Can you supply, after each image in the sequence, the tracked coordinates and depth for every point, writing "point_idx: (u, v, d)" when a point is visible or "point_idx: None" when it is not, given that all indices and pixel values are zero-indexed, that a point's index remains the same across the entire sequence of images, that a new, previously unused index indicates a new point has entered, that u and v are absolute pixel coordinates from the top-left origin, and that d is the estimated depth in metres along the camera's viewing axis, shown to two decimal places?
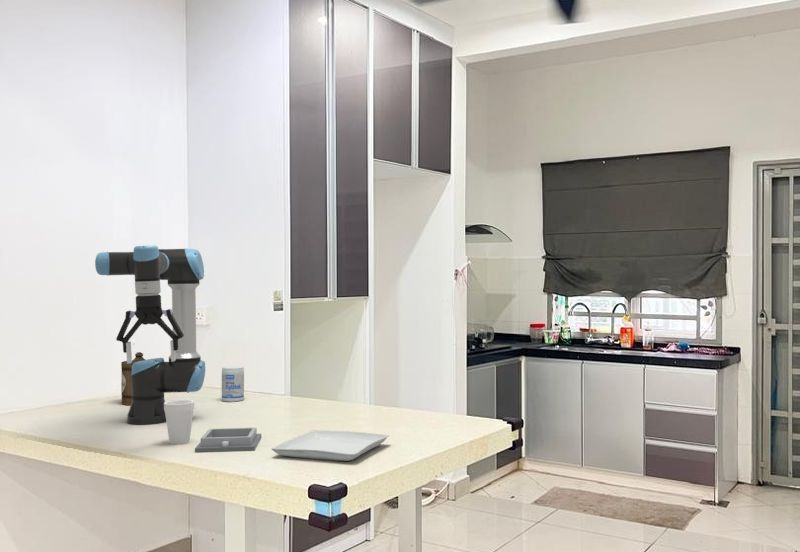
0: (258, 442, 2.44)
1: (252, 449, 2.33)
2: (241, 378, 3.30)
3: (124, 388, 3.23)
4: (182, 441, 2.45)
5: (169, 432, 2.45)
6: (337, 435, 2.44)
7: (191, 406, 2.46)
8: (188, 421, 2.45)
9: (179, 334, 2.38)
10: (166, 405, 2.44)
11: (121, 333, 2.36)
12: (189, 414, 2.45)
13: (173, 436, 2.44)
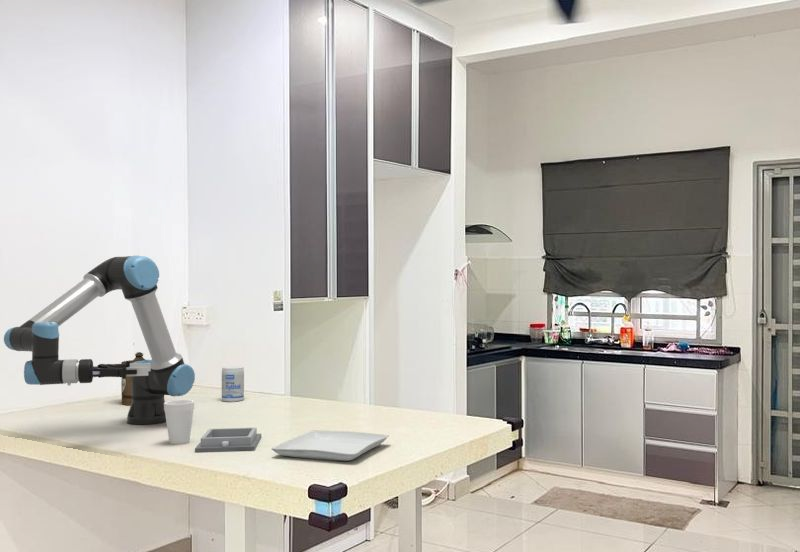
0: (258, 442, 2.44)
1: (252, 449, 2.33)
2: (241, 378, 3.30)
3: (124, 388, 3.23)
4: (182, 441, 2.45)
5: (169, 432, 2.45)
6: (337, 435, 2.44)
7: (191, 406, 2.46)
8: (188, 421, 2.45)
9: (119, 376, 2.34)
10: (166, 405, 2.44)
11: None
12: (189, 414, 2.45)
13: (173, 436, 2.44)
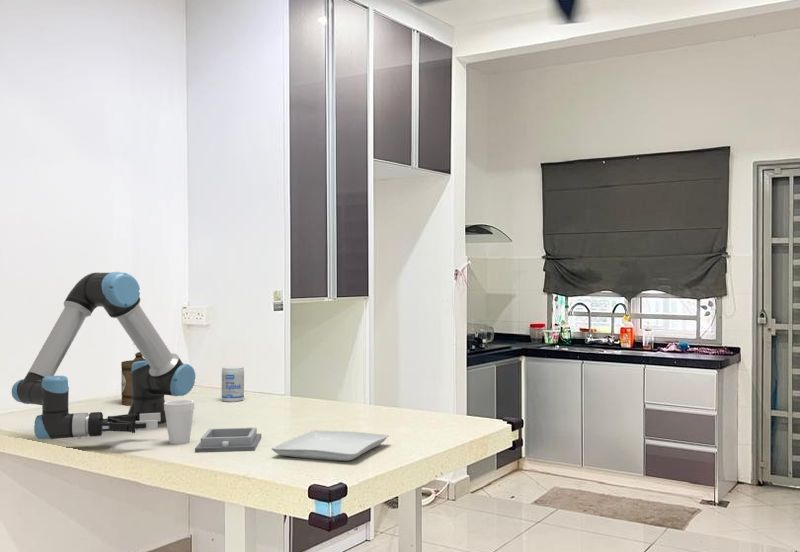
0: (258, 442, 2.44)
1: (252, 449, 2.33)
2: (241, 378, 3.30)
3: (124, 388, 3.24)
4: (182, 441, 2.45)
5: (169, 432, 2.45)
6: (337, 435, 2.44)
7: (191, 406, 2.46)
8: (188, 421, 2.45)
9: None
10: (166, 405, 2.44)
11: None
12: (189, 414, 2.45)
13: (173, 436, 2.44)
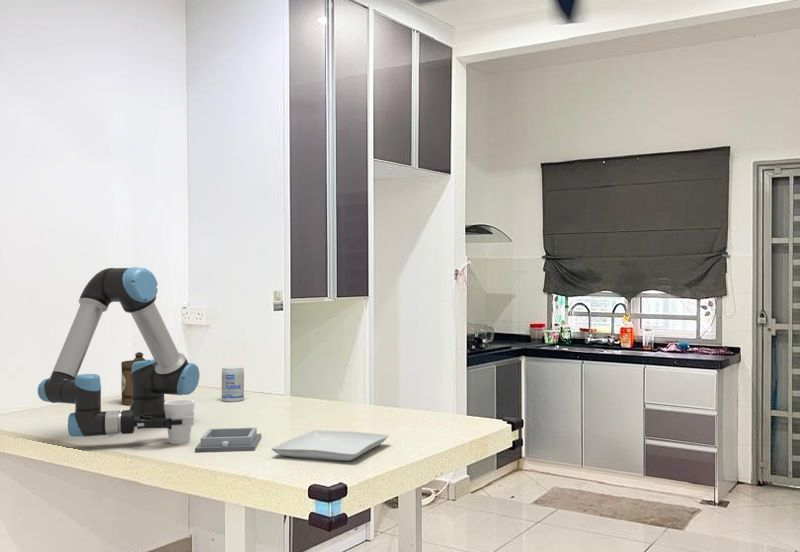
0: (258, 442, 2.44)
1: (252, 449, 2.33)
2: (241, 378, 3.30)
3: (124, 388, 3.24)
4: (182, 441, 2.45)
5: (169, 432, 2.45)
6: (337, 435, 2.44)
7: (191, 406, 2.46)
8: None
9: None
10: (166, 405, 2.44)
11: None
12: (189, 414, 2.45)
13: (173, 436, 2.44)
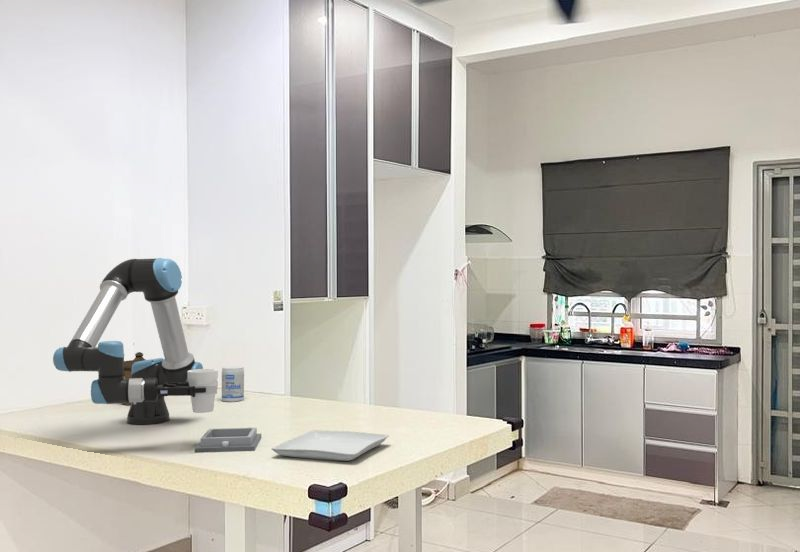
0: (258, 442, 2.44)
1: (252, 449, 2.33)
2: (241, 378, 3.30)
3: None
4: (206, 410, 2.40)
5: (192, 401, 2.40)
6: (336, 435, 2.44)
7: (215, 374, 2.41)
8: None
9: None
10: (189, 373, 2.39)
11: None
12: (212, 382, 2.41)
13: (196, 404, 2.40)
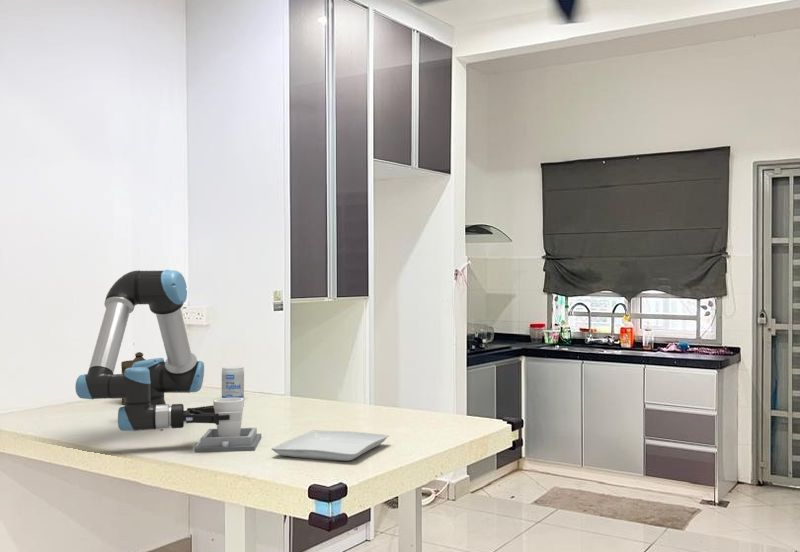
0: (258, 442, 2.44)
1: (252, 449, 2.33)
2: (241, 378, 3.30)
3: None
4: None
5: (219, 430, 2.40)
6: (336, 435, 2.44)
7: (241, 404, 2.41)
8: None
9: None
10: (216, 403, 2.39)
11: None
12: (239, 411, 2.41)
13: (223, 434, 2.39)
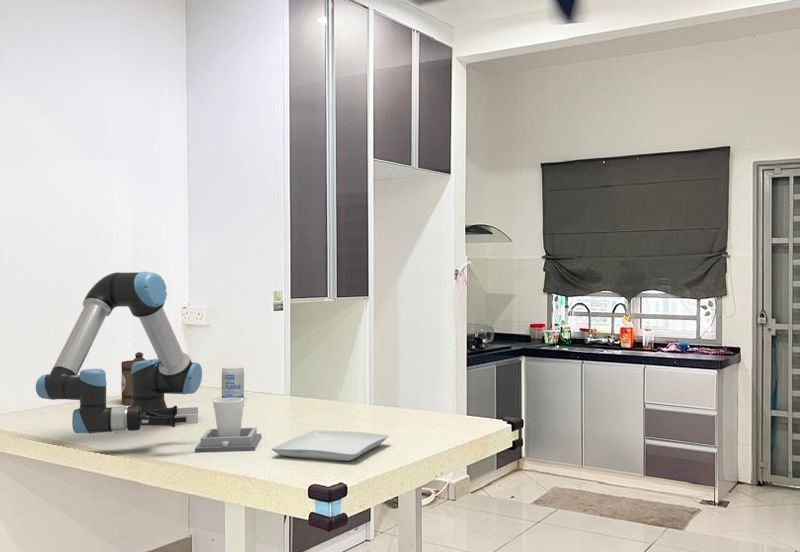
0: (258, 442, 2.44)
1: (252, 449, 2.33)
2: (241, 378, 3.30)
3: (124, 388, 3.24)
4: None
5: (219, 430, 2.40)
6: (336, 435, 2.44)
7: (241, 404, 2.41)
8: (238, 419, 2.41)
9: None
10: (216, 403, 2.39)
11: None
12: (239, 412, 2.41)
13: (223, 434, 2.39)
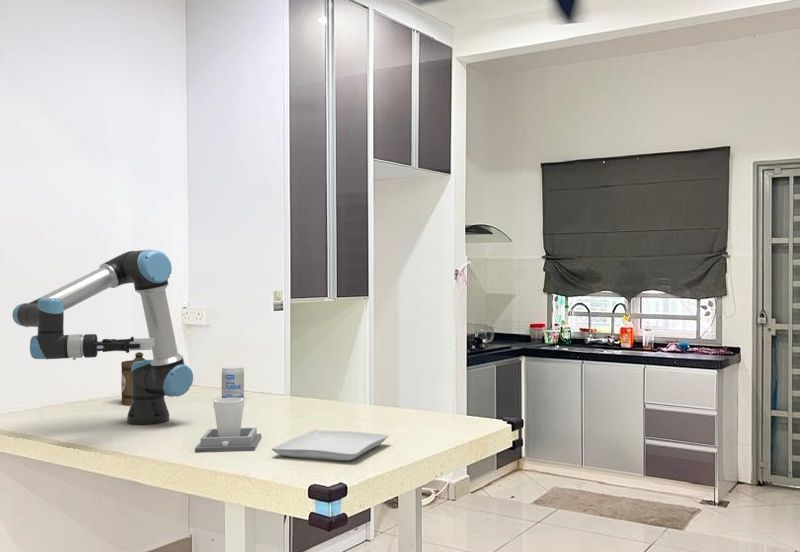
0: (258, 442, 2.44)
1: (252, 449, 2.33)
2: (241, 378, 3.30)
3: (124, 388, 3.24)
4: None
5: (219, 430, 2.40)
6: (336, 435, 2.44)
7: (241, 404, 2.41)
8: (238, 419, 2.41)
9: (122, 350, 2.38)
10: (216, 403, 2.39)
11: None
12: (239, 412, 2.41)
13: (223, 434, 2.39)
